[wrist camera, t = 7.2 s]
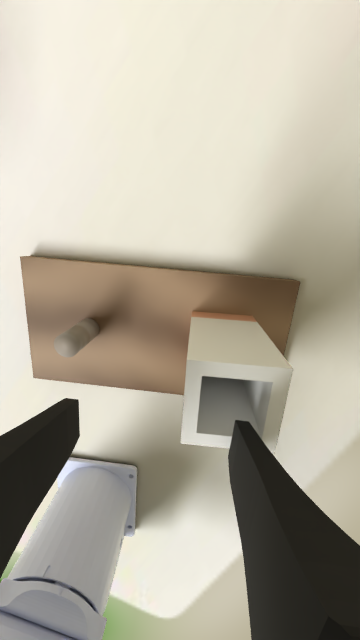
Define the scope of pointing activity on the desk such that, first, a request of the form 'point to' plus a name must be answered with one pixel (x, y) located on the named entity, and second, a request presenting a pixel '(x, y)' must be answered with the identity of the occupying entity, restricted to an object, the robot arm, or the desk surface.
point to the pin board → (135, 318)
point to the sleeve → (232, 380)
